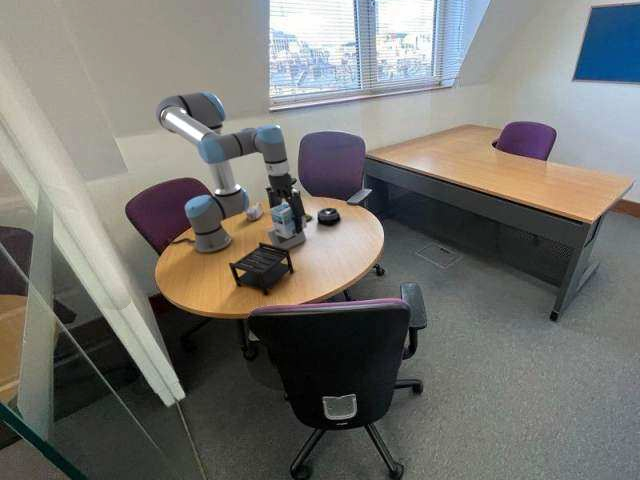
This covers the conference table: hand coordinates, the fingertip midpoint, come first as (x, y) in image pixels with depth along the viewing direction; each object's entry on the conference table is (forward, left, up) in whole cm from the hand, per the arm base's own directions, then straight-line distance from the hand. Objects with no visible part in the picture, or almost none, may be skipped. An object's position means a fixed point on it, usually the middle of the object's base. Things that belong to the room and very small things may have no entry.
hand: (291, 230), depth 119 cm
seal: (-29, +36, -19) cm, 50 cm away
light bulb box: (0, 0, 0) cm, 0 cm away
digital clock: (-16, +13, -19) cm, 28 cm away
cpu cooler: (-12, +40, -19) cm, 46 cm away
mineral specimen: (-54, +29, -19) cm, 64 cm away
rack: (-9, -11, -19) cm, 23 cm away
